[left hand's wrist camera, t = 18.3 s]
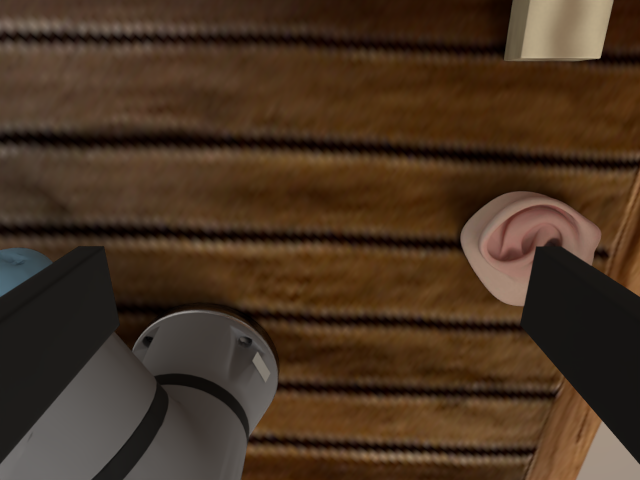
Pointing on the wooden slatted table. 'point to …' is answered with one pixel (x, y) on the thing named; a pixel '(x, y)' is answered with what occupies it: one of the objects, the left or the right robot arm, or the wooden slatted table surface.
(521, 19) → the birch board
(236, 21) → the wooden slatted table surface
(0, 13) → the wooden slatted table surface
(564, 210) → the anatomical model
